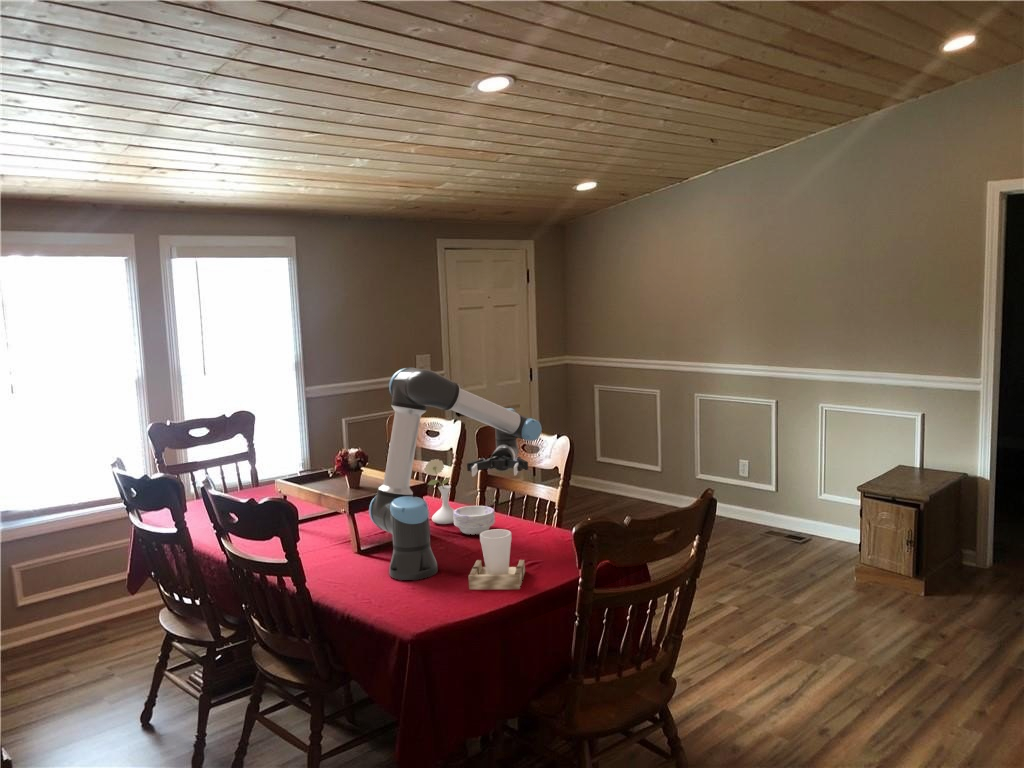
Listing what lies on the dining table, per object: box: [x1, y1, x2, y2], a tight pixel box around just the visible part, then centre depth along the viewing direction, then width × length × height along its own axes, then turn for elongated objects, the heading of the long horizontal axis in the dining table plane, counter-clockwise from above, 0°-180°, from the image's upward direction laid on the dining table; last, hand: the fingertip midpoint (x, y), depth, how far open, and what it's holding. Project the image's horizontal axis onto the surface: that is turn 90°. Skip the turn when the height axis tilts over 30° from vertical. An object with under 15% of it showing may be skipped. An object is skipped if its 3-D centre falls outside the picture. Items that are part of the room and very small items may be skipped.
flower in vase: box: [423, 458, 455, 525], centre depth 307 cm, size 13×11×25 cm
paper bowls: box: [453, 505, 496, 536], centre depth 294 cm, size 15×15×8 cm
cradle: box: [467, 559, 526, 590], centre depth 242 cm, size 16×15×4 cm
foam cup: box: [479, 528, 513, 574], centre depth 241 cm, size 10×9×13 cm
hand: (493, 471), depth 254 cm, fingers open, 13 cm apart
